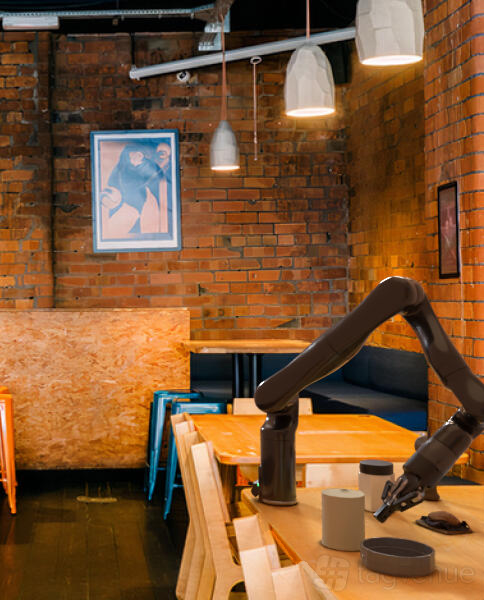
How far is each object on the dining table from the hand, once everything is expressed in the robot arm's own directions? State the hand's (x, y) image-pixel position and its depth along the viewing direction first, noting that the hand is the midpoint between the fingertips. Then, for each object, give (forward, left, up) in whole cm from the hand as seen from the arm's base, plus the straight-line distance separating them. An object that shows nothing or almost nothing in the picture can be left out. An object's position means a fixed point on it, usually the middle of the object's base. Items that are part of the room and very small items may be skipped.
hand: (377, 519), depth 176 cm
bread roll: (+12, +22, -6) cm, 25 cm away
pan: (+6, -14, -5) cm, 16 cm away
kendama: (+7, +51, -6) cm, 51 cm away
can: (-6, -4, -6) cm, 10 cm away
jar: (-4, +33, -6) cm, 33 cm away
